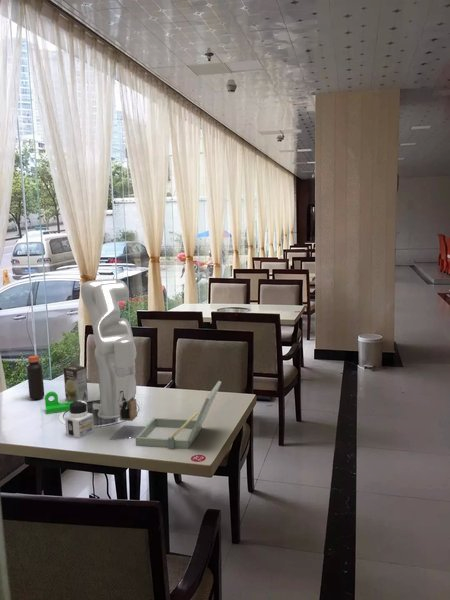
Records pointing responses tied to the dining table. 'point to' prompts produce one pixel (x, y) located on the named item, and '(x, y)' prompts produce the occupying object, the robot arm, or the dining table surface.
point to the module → (130, 409)
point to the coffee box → (75, 383)
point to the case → (177, 423)
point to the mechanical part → (55, 404)
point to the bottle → (35, 378)
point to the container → (79, 420)
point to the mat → (127, 432)
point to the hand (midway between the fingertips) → (128, 415)
